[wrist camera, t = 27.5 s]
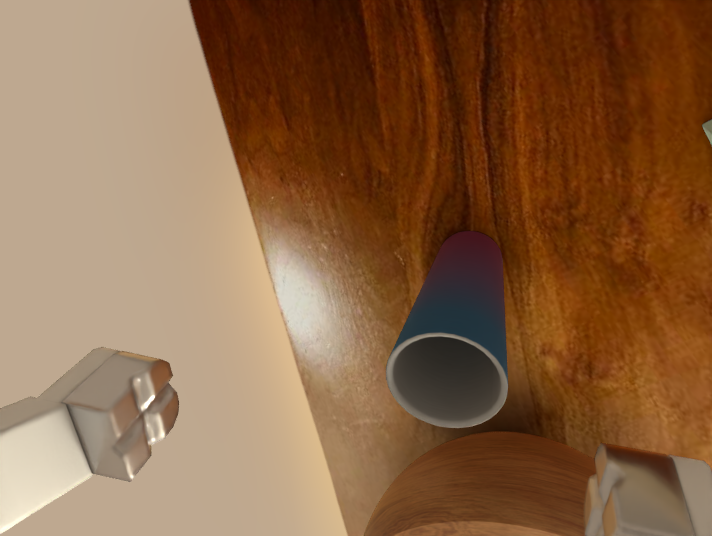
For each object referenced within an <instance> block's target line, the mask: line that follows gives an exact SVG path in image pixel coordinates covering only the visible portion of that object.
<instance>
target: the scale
mask: <svg viewBox="0 0 712 536" xmlns="http://www.w3.org/2000/svg"><path fill="white" fill-rule="evenodd" d="M702 127H703V129H704V131H705V133H706V135H707V137H708V139H709V141H710V143H711V145H712V120H710V121H708V122H706V123H704V124H703V125H702Z"/></svg>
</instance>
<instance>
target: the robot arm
mask: <svg viewBox="0 0 712 536" xmlns="http://www.w3.org/2000/svg"><path fill="white" fill-rule="evenodd" d="M172 376H173V374H172V371H171V368H170V364H169V363H168V362H166V361H164V360H161V359H157V358H152V357H147V356H143V355H138V354H134V353H129V352H124V351H118V350H113V349H108V348H104V347H101V348H97V349H94V350H92V351H91V352H90V353H89V354H87V355H86V356H85V357H84V358H83V359H82V360H81V361H79V362H78V363H77V364H76V365H75V366H74V367H72V368H71V369H70V370H69V371H68V372H67V373H66V374H64V375H63V376H62V377H61V378H60V379H58V380H57V381H56V382H55V383H54V384H53V385H51V386H50V387H49V388H48V389H47V390H46V391H44V392H43V393H42V394H41V395H40V396H39V397H37V398H35V397H28V398H26V399H23V400H21V401H18V402H16V403H13V404H11V405H8V406H5V407H3V408H0V534H1V533H3V532H4V531H6V530H7V529H9V528H11V527H12V526H13V525H15V524H17V523H18V522H20V521H22V520H23V519H25V518H27V517H28V516H30V515H31V514H33V513H34V512H36V511H38V510H39V509H41V508H42V507H44V506H46V505H47V504H49V503H50V502H52V501H53V500H55V499H57V498H58V497H60V496H61V495H63V494H65V493H66V492H68V491H69V490H71V489H73V488H74V487H76V486H77V485H79V484H80V483H82V482H84V481H85V480H87V479H88V478H90V477H91V476H92V473H93V474H97V475H102V476H106V477H110V478H115V479H120V480H124V481H128V482H131V481H132V479H133V478H134V477H135V475H136V474H137V473H138V472H139V470H140V469H141V468H142V467H143V465H144V464H145V463H146V462H147V460H148V459H149V458H150V456H151V445H152V444H154V443H156V442H158V441H160V440H162V439H164V438H165V437H166V436H167V434H168V433H169V432H170V430H171V429H172V428H173V426H174V423H175V420H176V418H177V415H178V410H179V400H178V395H177V392H176V391H175V390H174V389H173V388H172V387H171V385H170V384H169V383H168V382H169V381H170V379H171V378H172ZM595 467H596V474H594V475H592V476H591V477H589V479H588V483H587V487H586V491H585V499H584V531H585V536H712V471H711V468H710V466H709V465H708V464H707V463H706V462H705V461H701V460H696V459H690V458H684V457H679V456H673V455H666V454H661V453H656V452H650V451H645V450H639V449H633V448H628V447H622V446H617V445H611V444H606V443H601V444H600V446H599V447H598V449H597V452H596V456H595Z"/></svg>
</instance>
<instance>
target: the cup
mask: <svg viewBox="0 0 712 536" xmlns="http://www.w3.org/2000/svg"><path fill="white" fill-rule="evenodd" d="M386 380H387V383H388V387H389V389H390V391H391V393H392V395H393V397H394V398H395V399H396V401H397V402H398V403H399V404H400V405H401V406H402V407H403V408H404V409H405V410H406V411H407V412H409V413H410V414H412V415H413V416H415V417H416V418H418V419H420V420H423V421H425V422H427V423H430V424H433V425H436V426H441V427H447V428H464V427H471V426H475V425H478V424H481V423H483V422H485V421H487V420H489V419H491V418H492V417H493V416H494V415H495V414H497V413H498V411H499V410H500V409H501V407H502V406H503V405H504V402H505V400H506V397H507V392H508V373H507V350H506V328H505V305H504V282H503V260H502V253H501V251H500V248H499V247H498V245H497V244H496V243H495V242H494V241H493V240H492V239H491V238H490V237H488V236H487V235H484V234H482V233H479V232H475V231H463V232H459V233H456V234H454V235H452V236H450V237H449V238H448V239H446V240H445V242H444V243H443V244H442V246H441V248H440V250H439V252H438V254H437V256H436V258H435V261H434V263H433V265H432V267H431V269H430V271H429V273H428V276H427V278H426V280H425V282H424V284H423V286H422V288H421V291H420V293H419V295H418V297H417V299H416V301H415V303H414V305H413V308H412V310H411V312H410V314H409V316H408V318H407V320H406V323H405V325H404V327H403V329H402V331H401V333H400V335H399V338H398V340H397V342H396V344H395V346H394V348H393V350H392V353H391V355H390V357H389V359H388V362H387V366H386Z"/></svg>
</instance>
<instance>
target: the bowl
mask: <svg viewBox="0 0 712 536" xmlns="http://www.w3.org/2000/svg"><path fill="white" fill-rule="evenodd" d="M594 474H596V467H595V460H594V459H592V458H590V457H589V456H587V455H585V454H583V453H581V452H579V451H577V450H576V449H574V448H571V447H569V446H567V445H564V444H562V443H559V442H557V441H554V440H551V439H547V438H544V437H540V436H536V435H531V434H526V433H519V432H485V433H477V434H472V435H467V436H463V437H460V438H457V439H454V440H451V441H448V442H446V443H444V444H442V445H440V446H438V447H435V448H434V449H432V450H430V451H428V452H427V453H425V454H424V455H422V456H421V457H419V458H418V459H417V460H415V461H414V462H413V463H412V464H410V465H409V466H408V467H407V468H406V469H405V470H404V471H403V472H402V473H401V474H400V475H399V476H398V477H397V478H396V479H395V480H394V482H393V483H392V484H391V485H390V487H389V488H388V489H387V491H386V492H385V493H384V495H383V496H382V498H381V500H380V501H379V503H378V505H377V506H376V508H375V510H374V512H373V514H372V516H371V518H370V520H369V523H368V525H367V528H366V530H365V533H364V536H585V531H584V499H585V491H586V487H587V483H588V479H589V477H591V476H592V475H594Z"/></svg>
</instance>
